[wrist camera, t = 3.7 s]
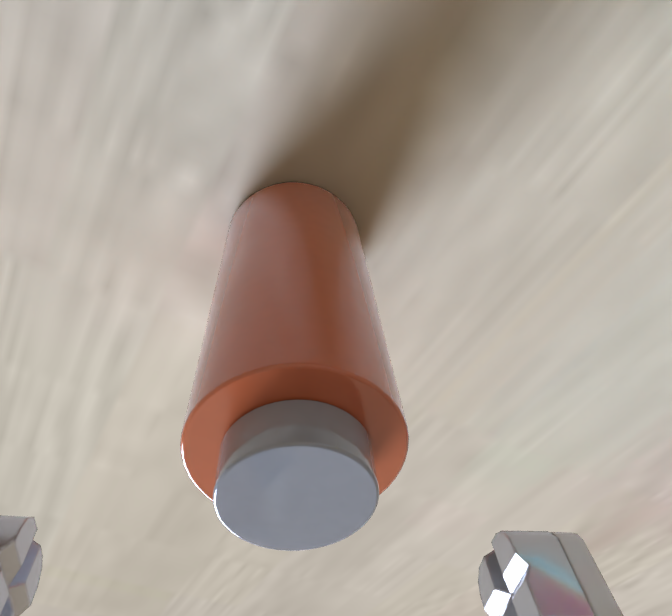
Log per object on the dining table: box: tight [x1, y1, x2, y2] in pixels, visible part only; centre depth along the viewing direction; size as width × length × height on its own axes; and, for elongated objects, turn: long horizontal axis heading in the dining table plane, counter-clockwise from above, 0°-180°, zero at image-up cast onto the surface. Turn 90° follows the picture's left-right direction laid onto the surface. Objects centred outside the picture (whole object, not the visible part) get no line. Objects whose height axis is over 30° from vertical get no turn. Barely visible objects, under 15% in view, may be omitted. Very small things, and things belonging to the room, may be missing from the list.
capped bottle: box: [180, 182, 409, 551], centre depth 15 cm, size 5×5×11 cm
